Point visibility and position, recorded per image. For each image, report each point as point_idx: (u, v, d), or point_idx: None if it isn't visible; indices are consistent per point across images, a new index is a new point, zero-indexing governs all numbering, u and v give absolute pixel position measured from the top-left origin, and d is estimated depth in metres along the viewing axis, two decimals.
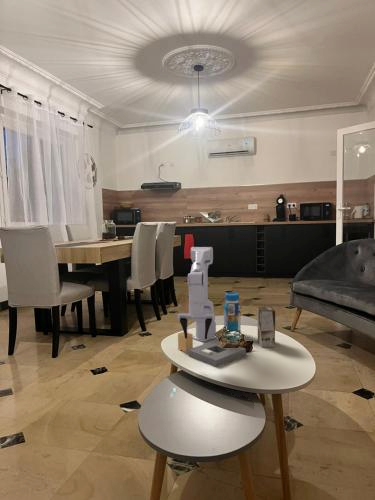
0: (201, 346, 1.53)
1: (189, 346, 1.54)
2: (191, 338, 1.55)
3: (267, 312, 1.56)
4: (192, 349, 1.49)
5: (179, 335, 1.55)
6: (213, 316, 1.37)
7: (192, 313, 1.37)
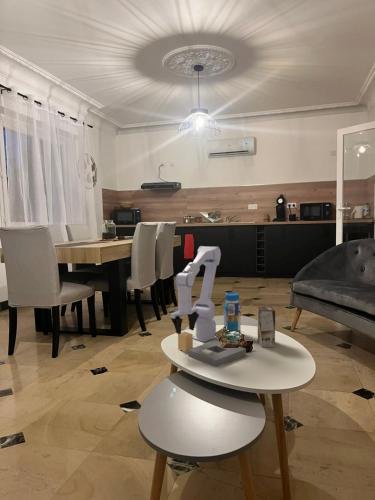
0: (201, 346, 1.53)
1: (189, 346, 1.54)
2: (191, 338, 1.55)
3: (267, 312, 1.56)
4: (192, 349, 1.49)
5: (179, 335, 1.55)
6: (197, 309, 1.58)
7: (187, 311, 1.52)
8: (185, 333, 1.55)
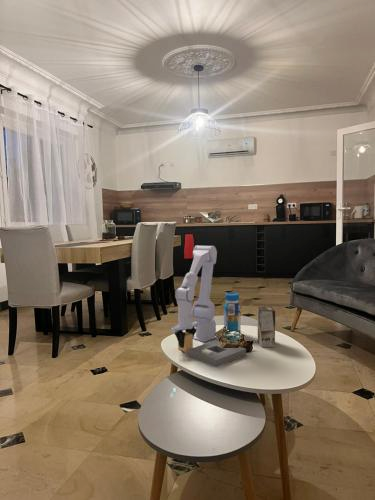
0: (201, 346, 1.53)
1: (189, 346, 1.54)
2: (191, 338, 1.55)
3: (267, 312, 1.56)
4: (192, 349, 1.49)
5: None
6: (198, 323, 1.59)
7: (187, 325, 1.52)
8: None
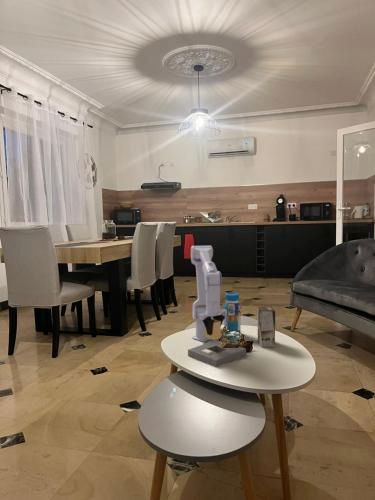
0: (201, 346, 1.53)
1: (217, 333, 1.47)
2: (219, 325, 1.48)
3: (267, 312, 1.56)
4: (192, 349, 1.49)
5: None
6: (226, 310, 1.52)
7: (215, 312, 1.45)
8: None
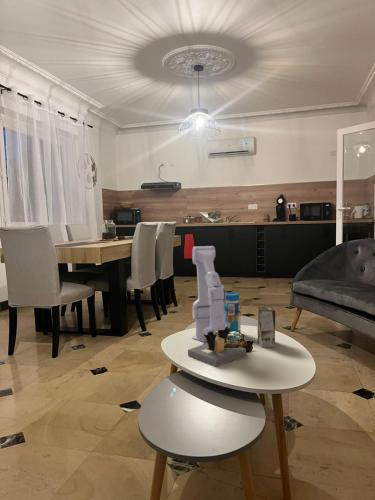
0: (201, 346, 1.53)
1: (220, 351, 1.47)
2: (223, 343, 1.48)
3: (267, 312, 1.56)
4: (192, 349, 1.49)
5: None
6: (229, 324, 1.52)
7: (219, 326, 1.45)
8: (216, 338, 1.49)
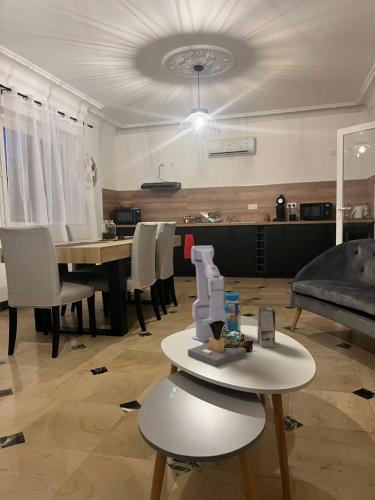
0: (201, 346, 1.53)
1: (220, 351, 1.47)
2: (223, 343, 1.48)
3: (267, 312, 1.56)
4: (192, 349, 1.49)
5: (210, 340, 1.48)
6: (229, 315, 1.51)
7: (219, 317, 1.45)
8: None
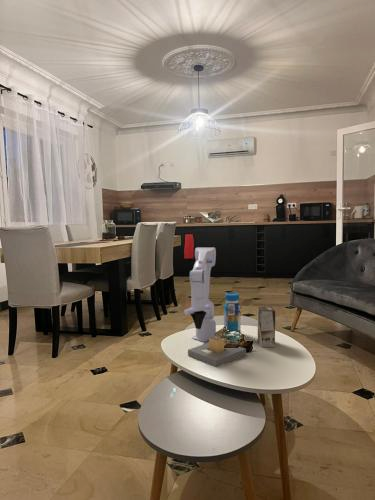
0: (201, 346, 1.53)
1: (220, 351, 1.47)
2: (223, 343, 1.48)
3: (267, 312, 1.56)
4: (192, 349, 1.49)
5: (210, 340, 1.48)
6: (210, 306, 1.58)
7: (200, 307, 1.51)
8: (216, 338, 1.49)
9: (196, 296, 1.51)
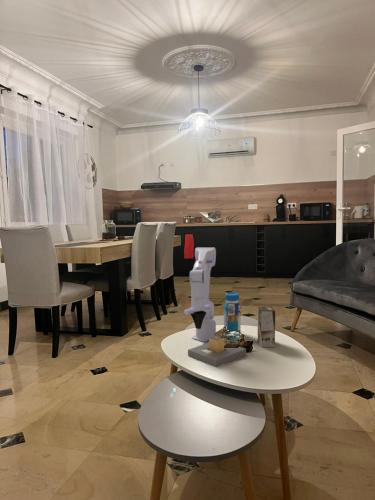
0: (201, 346, 1.53)
1: (220, 351, 1.47)
2: (223, 343, 1.48)
3: (267, 312, 1.56)
4: (192, 349, 1.49)
5: (210, 340, 1.48)
6: (210, 306, 1.58)
7: (200, 307, 1.51)
8: (216, 338, 1.49)
9: (196, 296, 1.51)
